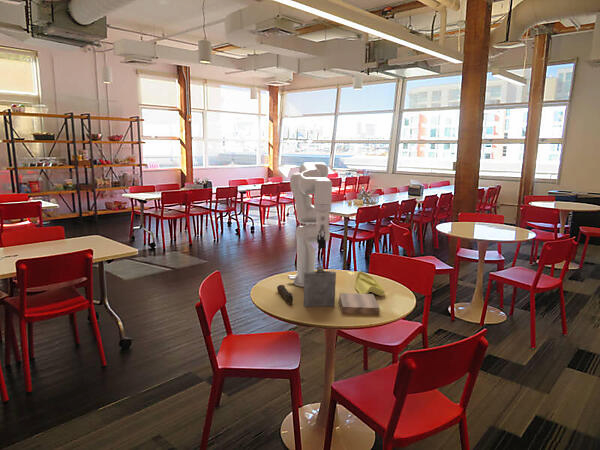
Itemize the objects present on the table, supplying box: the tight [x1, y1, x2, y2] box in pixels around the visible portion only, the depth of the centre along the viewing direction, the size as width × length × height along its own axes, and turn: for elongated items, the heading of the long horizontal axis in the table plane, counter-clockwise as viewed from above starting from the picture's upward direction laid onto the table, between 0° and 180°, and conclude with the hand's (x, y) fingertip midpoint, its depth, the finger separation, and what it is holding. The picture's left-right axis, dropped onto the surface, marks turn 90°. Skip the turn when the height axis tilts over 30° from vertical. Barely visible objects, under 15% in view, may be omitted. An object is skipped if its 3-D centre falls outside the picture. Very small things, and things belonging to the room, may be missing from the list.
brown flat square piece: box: [338, 292, 380, 315], centre depth 187 cm, size 16×17×3 cm
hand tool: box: [276, 284, 294, 306], centre depth 195 cm, size 19×4×5 cm, turn 15°
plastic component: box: [354, 270, 386, 297], centre depth 209 cm, size 20×7×10 cm
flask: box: [303, 266, 337, 308], centre depth 186 cm, size 4×14×18 cm, turn 97°
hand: (321, 245), depth 182 cm, fingers open, 9 cm apart
